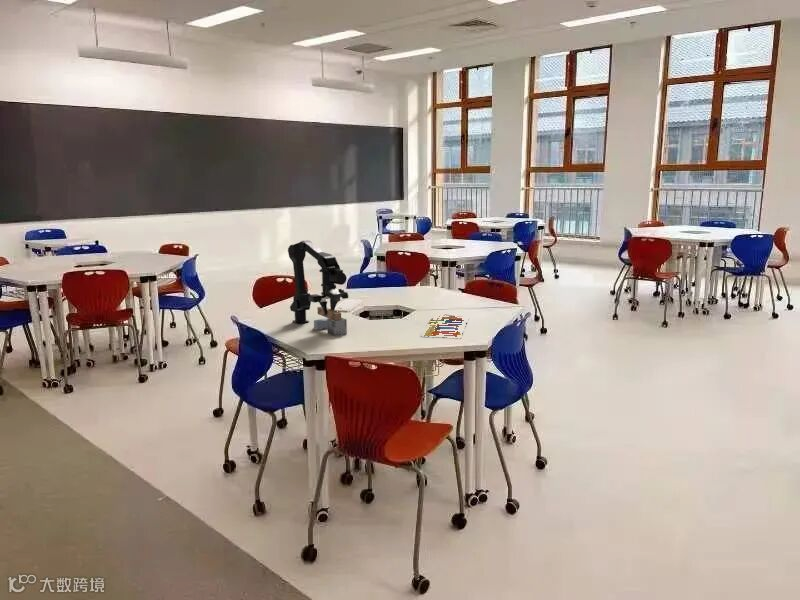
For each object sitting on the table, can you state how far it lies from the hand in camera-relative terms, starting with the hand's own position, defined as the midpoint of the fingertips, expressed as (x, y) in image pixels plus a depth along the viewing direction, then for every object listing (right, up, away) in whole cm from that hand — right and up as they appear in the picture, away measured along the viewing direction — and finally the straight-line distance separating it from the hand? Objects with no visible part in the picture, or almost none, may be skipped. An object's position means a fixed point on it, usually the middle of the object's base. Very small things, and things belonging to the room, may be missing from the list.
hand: (329, 314), depth 286 cm
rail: (0, -1, 0) cm, 1 cm away
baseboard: (+5, +3, +57) cm, 57 cm away
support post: (-4, -7, +7) cm, 10 cm away
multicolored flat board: (+57, -7, +9) cm, 58 cm away
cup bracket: (+4, -9, -4) cm, 11 cm away
